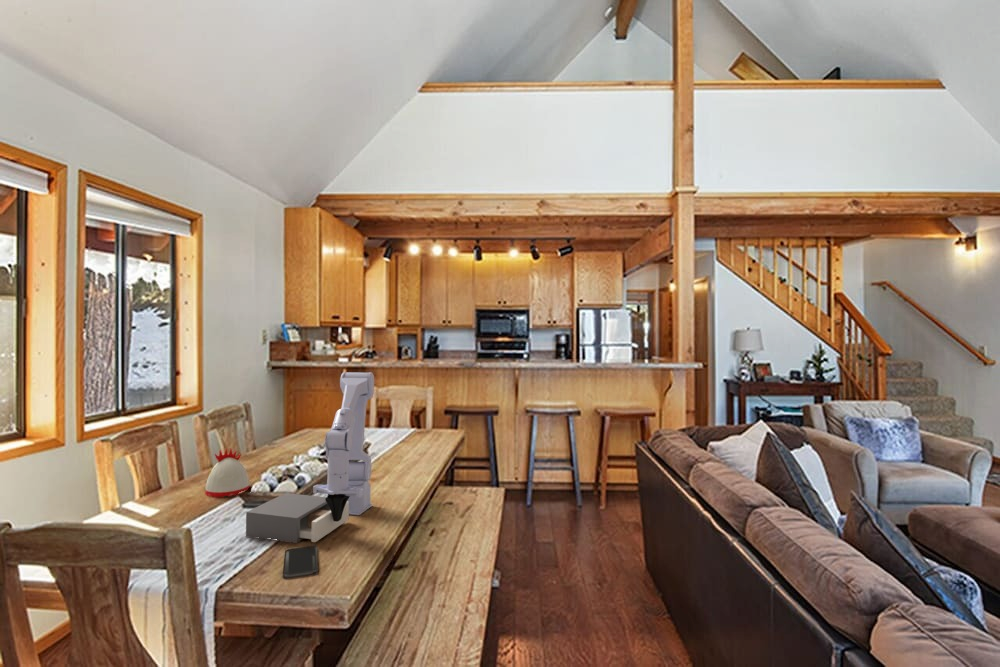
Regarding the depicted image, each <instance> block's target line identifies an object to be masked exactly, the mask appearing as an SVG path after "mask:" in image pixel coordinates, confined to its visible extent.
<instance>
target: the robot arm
mask: <svg viewBox="0 0 1000 667" xmlns="http://www.w3.org/2000/svg"><path fill="white" fill-rule="evenodd" d="M339 387H340V390H341V392H342V394H343V396H342V402H341V407H340V409H338V410H337V411H336V412H335V414H334V419H333V422H332V425H331V428H330V430H329V431H327V432H326V434H325V438H324V448H325V456H326V457H327V474H326V476H327V480H326V481H327V482H326V483H327V484H315V485H313V487H312V494H327V496H326V498H325V500H326V502H327V503H328V505H329V507H330V510H331V513H332V516H333V521H336V522H338V521H339V520H341V518H342V513H343V510H344V507H345V505H346V502H347V501H349V515H351V516H352V515H353V516H360V515H361V514H363V513H364V512H365V511H368V510H369V509H370V508H372V507H373V505H374V503H371V494H372V492H371V488H372V487H371V484H370V482H369V480H371V477H372V459H371V456H370V455H369V454H368V453H367V452H365V451H364V444H365V443H364V440H365V431H366V429H365V428H366V414H367V405H368V401H369V400H371V399H372V398H374V394H375V393H374V391H375V376H374V374H373V372H372V371H371V372H355V371H354V372H347V371H343V372H342V373H341V375H340V378H339Z"/></svg>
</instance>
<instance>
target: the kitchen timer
mask: <svg viewBox="0 0 1000 667" xmlns="http://www.w3.org/2000/svg"><path fill="white" fill-rule="evenodd" d="M236 455H237V450H235V451H234V452H233V451H232V447H231V448H230V449H229V453H228V450H227V448H225V450H224V454H223V453H222V450H221V449H219V454H218V455H217V453H214V456H215V459H216V460H217V462H216V464H215V465H213V468H212V469H211V470H210V471H209V472H208V477H207V481H206V483H205V488H204V489H205V490H204V491H205V492H204V494H205V496H207V497H210V496H212V497H211V498H224V497H223V496H228V497H232V496H231V495H234V496H236V495H235V494H238V493H239V492H241V491H244V490H247V489H248V488H249V487H250V488H251V486H250V485H251V484H250V483H251V482H250V477H249V475H248V472H247V468H246V467H245V466H244V464H243V463H242V462H241V461H240V460H239V459H240V458H241V455H242V454H241V453H239V455H238V456H236ZM238 495H239V494H238Z"/></svg>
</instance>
